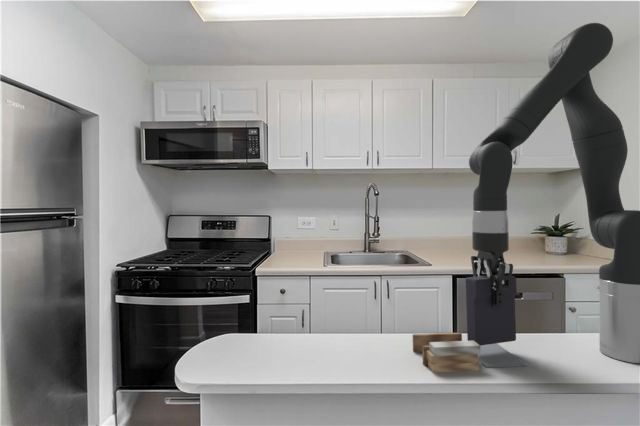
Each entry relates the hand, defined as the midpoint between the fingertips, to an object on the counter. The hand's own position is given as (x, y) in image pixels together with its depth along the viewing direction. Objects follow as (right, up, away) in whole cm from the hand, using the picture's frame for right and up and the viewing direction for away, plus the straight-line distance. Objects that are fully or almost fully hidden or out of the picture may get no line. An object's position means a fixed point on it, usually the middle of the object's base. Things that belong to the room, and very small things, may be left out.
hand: (490, 303), depth 79 cm
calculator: (0, -9, 0) cm, 9 cm away
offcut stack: (-11, -13, -6) cm, 18 cm away
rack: (-11, -12, 0) cm, 17 cm away
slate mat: (0, -12, 0) cm, 12 cm away
